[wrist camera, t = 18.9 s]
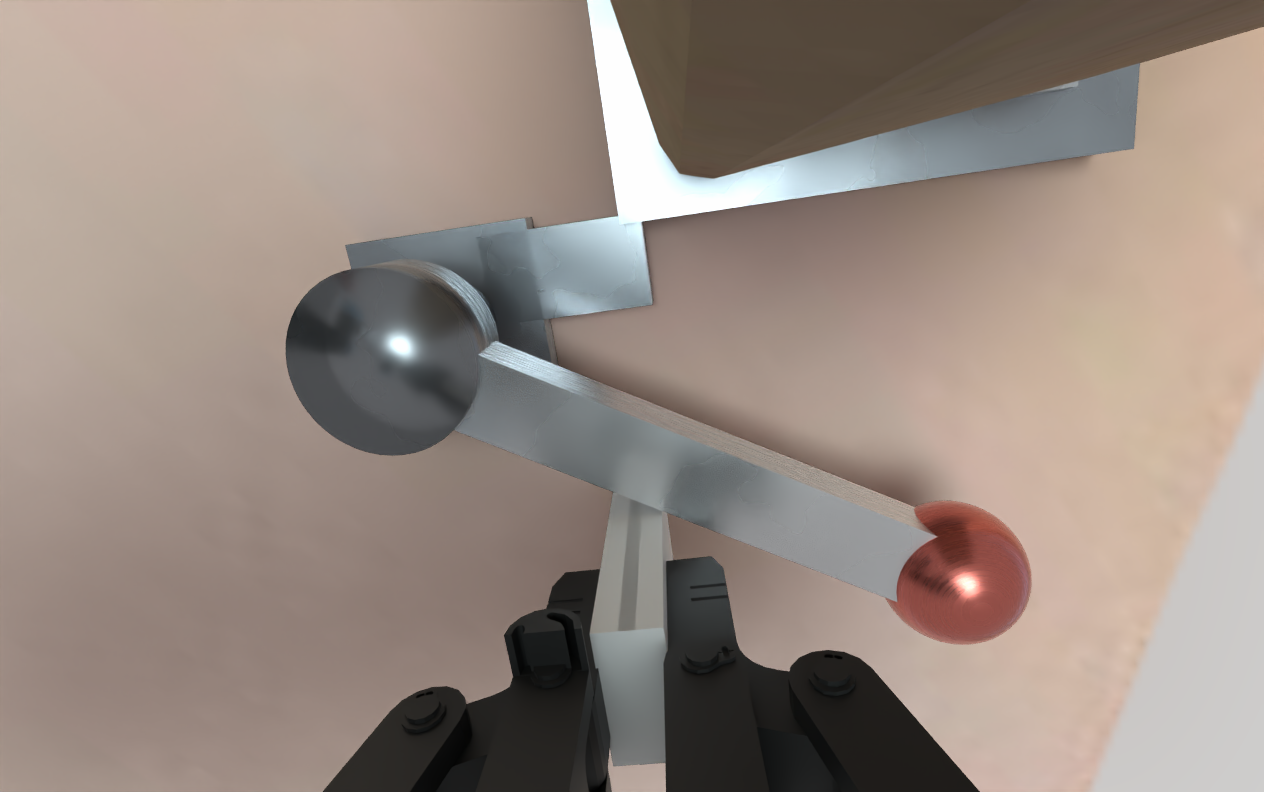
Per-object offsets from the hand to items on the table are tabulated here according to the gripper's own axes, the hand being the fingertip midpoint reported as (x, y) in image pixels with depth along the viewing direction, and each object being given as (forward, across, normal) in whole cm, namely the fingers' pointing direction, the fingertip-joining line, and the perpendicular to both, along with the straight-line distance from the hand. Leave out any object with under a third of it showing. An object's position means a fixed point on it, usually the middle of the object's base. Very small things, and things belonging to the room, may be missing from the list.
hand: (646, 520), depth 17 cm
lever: (0, +1, +2) cm, 3 cm away
